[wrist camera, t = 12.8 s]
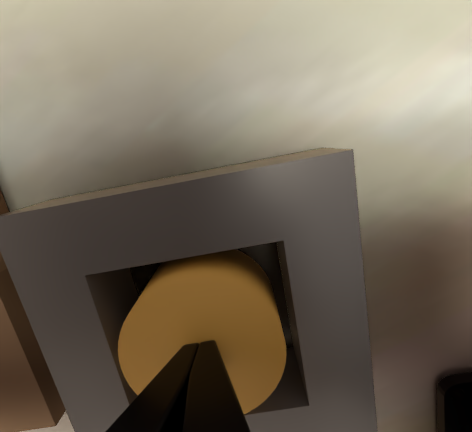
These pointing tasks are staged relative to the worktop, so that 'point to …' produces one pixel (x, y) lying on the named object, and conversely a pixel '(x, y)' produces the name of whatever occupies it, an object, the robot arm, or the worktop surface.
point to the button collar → (194, 244)
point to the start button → (207, 323)
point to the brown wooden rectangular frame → (22, 365)
